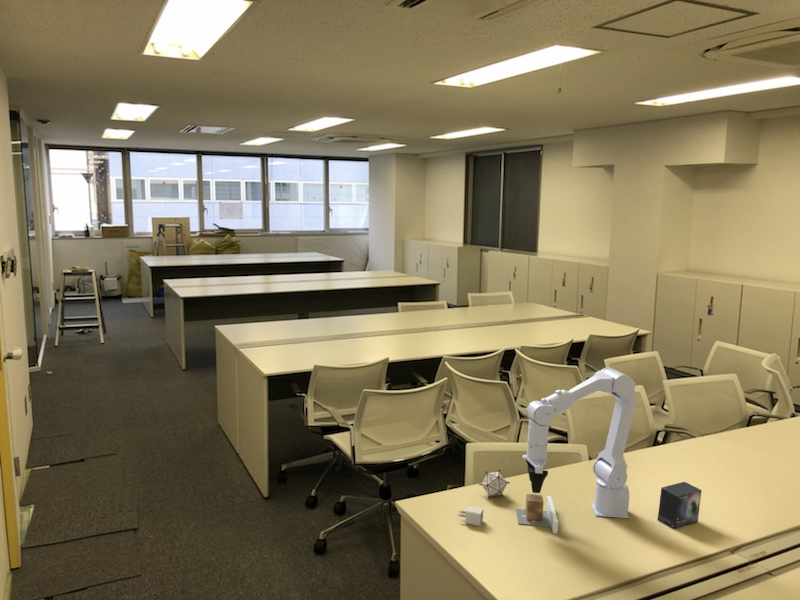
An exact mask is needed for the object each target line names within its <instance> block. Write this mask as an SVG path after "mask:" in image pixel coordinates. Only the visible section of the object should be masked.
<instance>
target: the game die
mask: <svg viewBox="0 0 800 600" xmlns="http://www.w3.org/2000/svg"><path fill="white" fill-rule="evenodd" d="M484 472H485V476H484V478H483V480H482V482H481V483H479V484H478V486H482V488H483V489H484V490H485V492H486V493H487V495H488V497H487V499H490V498H491V497H493V496H500V495H501V497H504V494H503V493H504V491H505V489H506V486H507V485H508V484H510V483H511V482H510V481H507V480H506V479H505V478H504V476H503V474H502V473H501V468H500V469H498V471H491V472H490V471H489V472H488V471H486V470H485V471H484Z"/></svg>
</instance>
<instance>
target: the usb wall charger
mask: <svg viewBox="0 0 800 600" xmlns="http://www.w3.org/2000/svg"><path fill="white" fill-rule="evenodd" d="M458 512H459V513H458V514H457V516H458V517H460V518H465V519H464V523H465V524H466V525H471V526H476V527H481V526H482V523H483V520H484V508H481V507H474V506H469V505H468V507H467V508H466V510H465V511H464V510H459V511H458Z"/></svg>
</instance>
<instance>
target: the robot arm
mask: <svg viewBox="0 0 800 600" xmlns="http://www.w3.org/2000/svg"><path fill="white" fill-rule="evenodd" d="M636 385H637V383H636V382H635V381H634V380H633V378H632V377H631V376H630V375H628V374H625V373H622V372H620V371H618V370H616V369H615V368H613V367H610V366H609V367H608V366H607V367H604V368H602V369H601V370H597V371H596V372H595V373H594V375H592V376H591V377H589V378H588V379H586V380H584V381H582V382H581V383H579V384H577V385H576V386H574V387H572V388H570V389H569V390H566V389H557V390H555V391H554V393H553V394H550V395H548V396H547V397H542V398H541V400H533V401H531V402H530V403H529V404H528V405H527V408H525V413H526V417H528V426H527V427H528V429H527V442H526V446H527V447H526V454H522V455H521V456H522V457H521V458H522V459H523V460H525V461H526V465H527V472H528V477H529V481H530V484H531V485H530V486H531V491H532V494H533V493H534V494H541V491H542V487H543V484H544V481H545V480H546V478H547V477H548V475H549V471H548V470H544V468H543V467H544V466H545V465H546V463H547V462H548V441H549V440H548V439H549V425H550V423H552V421H553V419H554V418H555V417H556V416H557V415H559V414H561V413H563V412H565V411H568V410H569V409H571V408H572V407H574V402H576V401H578V400H581V399H583V398H584V397H587V396H590V395H592V394H594V393H597V392H604V393H607V394H610V395H611V396H612V398H613V399H614V400H615V404H614V407H613V413H612V417H611V420H610V425H609V430H608V434H607V438H606V442H605V446H604V449H603V450H602V451H600V452H598V454H597V458H596V460H595V461H594V462H593V464H592V465H593V466H592V471H593V473H594V474H595V479H596V483H595V497H594V502H590V506H591V507H592V510H593V513H594V515H595V516H596V517H603V518H604V517H605V518H606V517H608V518H620V519H628V518H629V504H630V490H629V486H628V484H626V483H627V481H628V473H627V468H628V465H627V462H626V459H625V457H624V453H625V449H626V446H627V442H628V437H629V433H630V428H631V424H632V420H633V415H634V412H635V407H636V405H637V395H636V390H635V389H636Z"/></svg>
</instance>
